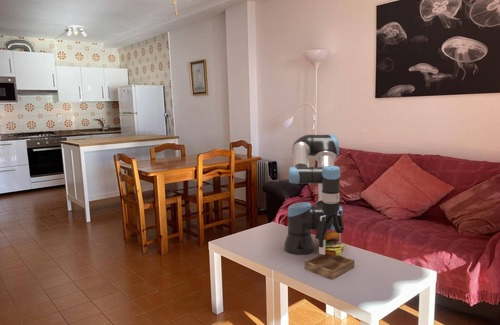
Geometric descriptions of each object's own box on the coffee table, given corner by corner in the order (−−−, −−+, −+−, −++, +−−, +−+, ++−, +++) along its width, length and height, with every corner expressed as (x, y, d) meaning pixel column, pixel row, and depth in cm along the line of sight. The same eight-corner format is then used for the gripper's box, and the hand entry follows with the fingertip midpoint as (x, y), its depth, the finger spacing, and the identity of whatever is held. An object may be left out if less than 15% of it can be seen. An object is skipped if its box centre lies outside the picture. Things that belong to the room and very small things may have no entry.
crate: (304, 268, 169) (304, 261, 169) (327, 258, 180) (327, 251, 180) (332, 279, 159) (332, 271, 158) (354, 267, 170) (354, 260, 169)
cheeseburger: (330, 258, 160) (326, 234, 161) (315, 255, 170) (312, 233, 170) (349, 253, 164) (345, 230, 165) (334, 251, 174) (331, 229, 174)
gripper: (321, 208, 154) (320, 260, 157) (353, 198, 170) (351, 245, 173) (306, 205, 160) (306, 255, 163) (338, 195, 175) (337, 241, 178)
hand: (329, 250), depth 168 cm, fingers closed on cheeseburger, 11 cm apart
